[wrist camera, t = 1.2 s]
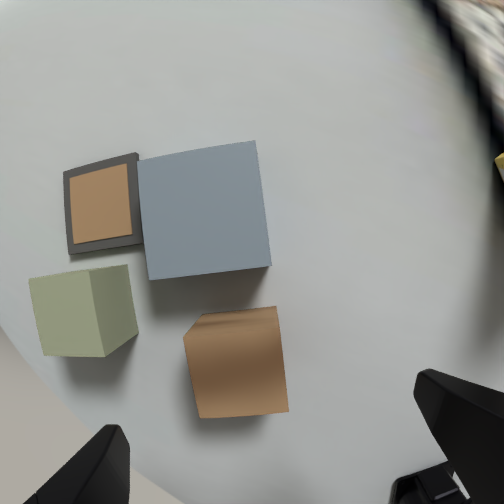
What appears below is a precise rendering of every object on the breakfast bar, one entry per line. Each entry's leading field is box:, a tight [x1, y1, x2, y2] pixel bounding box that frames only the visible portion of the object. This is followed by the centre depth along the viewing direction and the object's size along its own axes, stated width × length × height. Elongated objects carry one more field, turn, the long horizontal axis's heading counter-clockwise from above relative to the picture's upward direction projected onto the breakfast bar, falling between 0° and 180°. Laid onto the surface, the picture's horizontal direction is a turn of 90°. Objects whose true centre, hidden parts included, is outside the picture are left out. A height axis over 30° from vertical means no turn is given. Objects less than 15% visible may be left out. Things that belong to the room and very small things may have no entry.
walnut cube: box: [183, 306, 289, 418], centre depth 19 cm, size 5×5×6 cm
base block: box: [137, 141, 272, 280], centre depth 19 cm, size 7×7×4 cm
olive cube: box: [29, 264, 139, 357], centre depth 19 cm, size 5×5×6 cm
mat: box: [63, 152, 144, 255], centre depth 21 cm, size 6×6×1 cm
